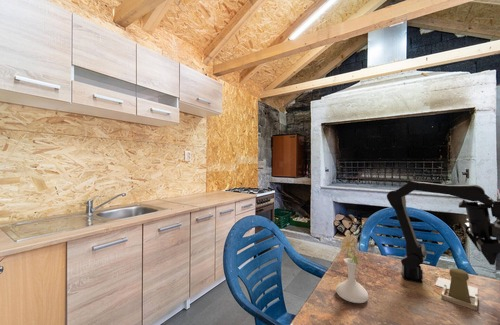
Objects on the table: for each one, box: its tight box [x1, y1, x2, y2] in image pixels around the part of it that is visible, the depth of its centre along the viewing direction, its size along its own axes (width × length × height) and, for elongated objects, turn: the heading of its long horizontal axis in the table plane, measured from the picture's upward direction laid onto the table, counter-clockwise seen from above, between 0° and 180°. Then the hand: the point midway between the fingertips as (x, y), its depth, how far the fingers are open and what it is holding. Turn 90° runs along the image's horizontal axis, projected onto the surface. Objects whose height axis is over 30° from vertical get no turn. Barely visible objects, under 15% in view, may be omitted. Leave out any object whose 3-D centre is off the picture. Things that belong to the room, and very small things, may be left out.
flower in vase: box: [335, 233, 369, 304], centre depth 81 cm, size 13×11×25 cm
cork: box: [447, 267, 472, 304], centre depth 79 cm, size 6×6×11 cm
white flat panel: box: [434, 276, 479, 299], centre depth 87 cm, size 9×12×1 cm
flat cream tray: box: [440, 285, 479, 311], centre depth 79 cm, size 9×9×2 cm
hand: (486, 257), depth 80 cm, fingers open, 9 cm apart
